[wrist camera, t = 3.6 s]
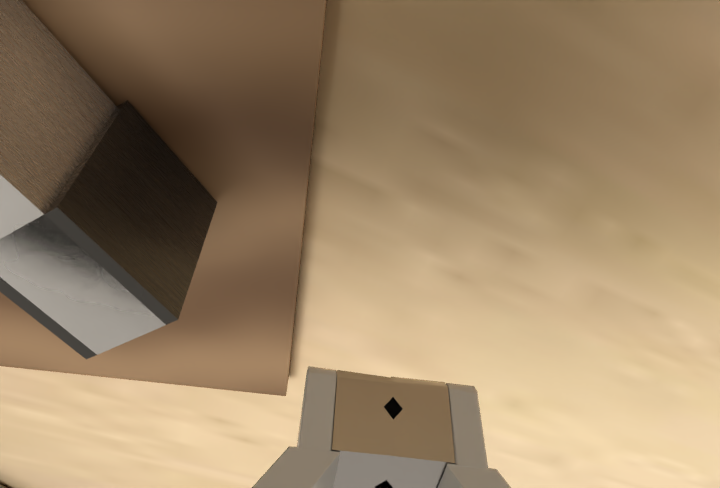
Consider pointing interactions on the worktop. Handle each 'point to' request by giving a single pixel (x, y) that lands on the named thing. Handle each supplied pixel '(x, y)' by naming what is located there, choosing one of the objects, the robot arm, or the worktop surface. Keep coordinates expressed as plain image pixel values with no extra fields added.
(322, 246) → the worktop surface
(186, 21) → the tongs base
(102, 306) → the jaw
